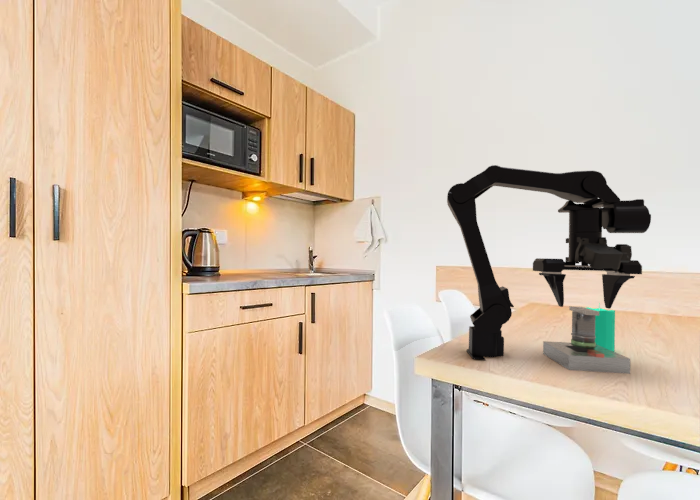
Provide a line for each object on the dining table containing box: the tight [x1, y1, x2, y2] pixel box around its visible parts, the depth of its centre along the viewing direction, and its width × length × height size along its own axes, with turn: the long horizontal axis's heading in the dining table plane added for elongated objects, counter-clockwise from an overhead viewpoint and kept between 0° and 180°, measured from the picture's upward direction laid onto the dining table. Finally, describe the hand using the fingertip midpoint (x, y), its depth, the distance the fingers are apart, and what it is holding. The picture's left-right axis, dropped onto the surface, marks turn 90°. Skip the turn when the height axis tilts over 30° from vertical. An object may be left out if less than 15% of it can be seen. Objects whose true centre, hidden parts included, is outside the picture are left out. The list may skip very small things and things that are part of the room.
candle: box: [585, 302, 616, 353], centre depth 82 cm, size 6×6×12 cm
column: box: [568, 305, 599, 349], centre depth 71 cm, size 4×6×8 cm, turn 174°
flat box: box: [542, 340, 631, 375], centre depth 71 cm, size 16×16×4 cm
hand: (584, 307), depth 71 cm, fingers open, 9 cm apart
